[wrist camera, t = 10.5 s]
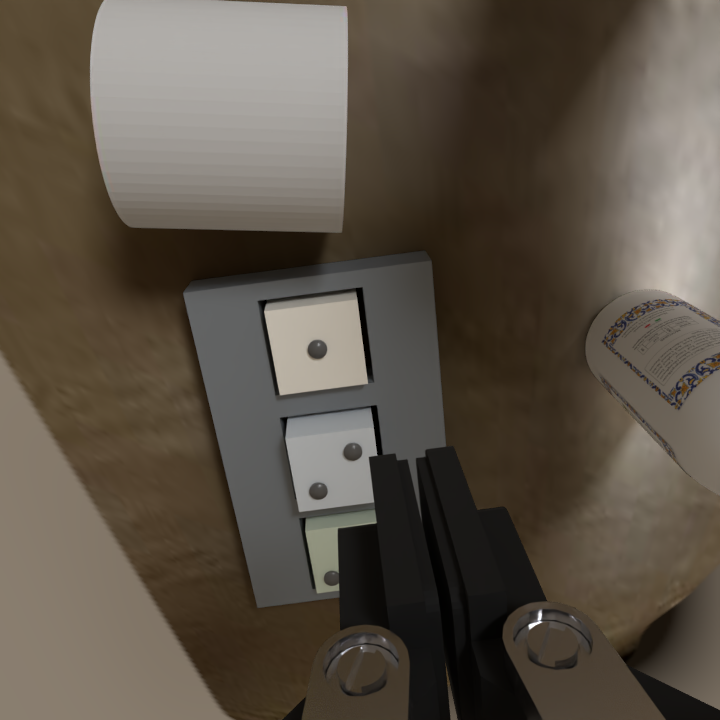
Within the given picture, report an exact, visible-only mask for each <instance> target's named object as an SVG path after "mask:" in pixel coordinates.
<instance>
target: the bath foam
mask: <svg viewBox="0 0 720 720" xmlns="http://www.w3.org/2000/svg"><path fill="white" fill-rule="evenodd" d="M585 352H586V359H587V363H588V365H589V368H590V370H591V371H592V373H593V374H594V376H595V377H596V378H597V379H598V380H599V382H600V383H601V384H602V385H603V386H604V387H605V388H606V389H607V390H608V391H609V393H610V394H611V395H612V396H613V397H614V398H615V399H616V400H617V401H618V402H619V403H620V404H621V405H622V406H623V407H624V408H625V409H626V410H627V411H628V413H629V414H630V415H631V416H632V417H633V418H634V419H635V420H636V421H637V422H638V423H639V424H640V425H641V426H642V427H643V428H644V429H645V430H646V431H647V433H648V434H649V435H650V436H651V437H652V438H653V439H654V440H655V441H656V442H657V443H658V444H659V445H660V446H661V447H662V448H663V449H664V450H665V451H666V453H667V454H668V455H669V456H670V457H671V458H672V459H673V460H674V461H675V462H676V463H677V464H678V465H679V466H680V467H681V468H682V469H683V470H684V471H685V472H686V473H687V474H688V475H689V476H690V477H692V478H693V479H694V480H696V481H697V482H698V483H700V484H701V485H702V486H704V487H705V488H707V489H709V490H710V491H712V492H714V493H716V494H717V495H719V496H720V321H718V320H716V319H715V318H713V317H711V316H709V315H708V314H706V313H704V312H703V311H701V310H699V309H697V308H696V307H694V306H692V305H690V304H688V303H686V302H685V301H683V300H681V299H679V298H678V297H676V296H674V295H672V294H670V293H667V292H664V291H660V290H639V291H633V292H630V293H627V294H625V295H622V296H620V297H618V298H617V299H615V300H613V301H612V302H611V303H609V304H608V305H607V306H606V307H605V308H604V309H603V310H602V311H601V312H600V313H599V314H598V315H597V317H596V318H595V320H594V321H593V323H592V325H591V327H590V329H589V332H588V335H587V339H586V346H585Z"/></svg>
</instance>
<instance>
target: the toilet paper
mask: <svg viewBox="0 0 720 720" xmlns="http://www.w3.org/2000/svg"><path fill="white" fill-rule="evenodd" d="M347 89H348V18H347V7H346V6H327V5H305V4H283V3H261V2H239V1H217V0H104V1H103V3H102V5H101V6H100V9H99V11H98V14H97V17H96V21H95V25H94V30H93V36H92V45H91V58H90V91H91V108H92V118H93V127H94V135H95V141H96V147H97V152H98V157H99V162H100V166H101V171H102V175H103V178H104V182H105V185H106V188H107V191H108V194H109V197H110V199H111V202H112V204H113V206H114V208H115V210H116V212H117V214H118V215H119V217H120V218H121V220H122V221H123V222H124V223H125V224H126V225H127V226H129V227H133V228H168V229H209V230H251V231H292V232H333V233H341V232H342V226H343V213H344V195H345V170H346V137H347Z"/></svg>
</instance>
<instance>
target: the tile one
mask: <svg viewBox="0 0 720 720" xmlns="http://www.w3.org/2000/svg"><path fill="white" fill-rule="evenodd" d="M264 313H265V318H266V324H267V329H268V334H269V340H270V345H271V350H272V356H273V361H274V366H275V372H276V377H277V382H278V388H279V393H280V395H286V394H294V393H301V392H309V391H316V390H324V389H332V388H339V387H347V386H355V385H362V384H368V380H367V372H366V364H365V356H364V349H363V341H362V333H361V325H360V317H359V309H358V301H357V295H356V288H351V289H344V290H336V291H328V292H321V293H313V294H305V295H298V296H290V297H282V298H275V299H267V303H266V307H265V310H264Z"/></svg>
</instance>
